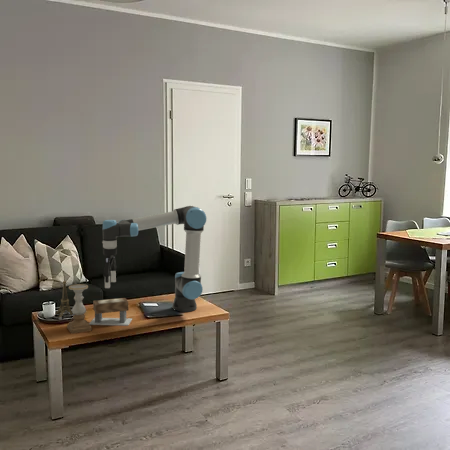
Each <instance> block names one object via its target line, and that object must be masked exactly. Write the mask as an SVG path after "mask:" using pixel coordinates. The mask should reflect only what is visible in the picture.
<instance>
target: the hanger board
mask: <svg viewBox="0 0 450 450" xmlns="http://www.w3.org/2000/svg"><path fill="white" fill-rule="evenodd" d="M132 320H133V318H130V317H129V318H127V311H119V317H103V313H99V314H96V313H95V312H94V318H93V319H92V320H91V321H90V322H88V323H89V324H90V326H127V327H128V326H129V325H130V324H131V323H132Z"/></svg>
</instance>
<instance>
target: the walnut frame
mask: <svg viewBox="0 0 450 450" xmlns="http://www.w3.org/2000/svg"><path fill="white" fill-rule="evenodd" d="M92 302H93V305H92V306H93V311H94V314H95V313H96V314H99V313H102V314H107V313H116V312H118V313H120V311H126V312H127V311H129V300H128V299H127V298H126V297H120V298H110V299H108V298H107V299H100V300H93V301H92Z"/></svg>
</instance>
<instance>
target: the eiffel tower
mask: <svg viewBox="0 0 450 450" xmlns="http://www.w3.org/2000/svg"><path fill="white" fill-rule="evenodd" d="M61 283H62V296H61V299H60V305H59V307H58V309H57V311H56V312H55V314H60V315H59V316H58V317H62V316H64V313H65V312H67V313H68V312H70V314H69V315H70V316H71V315H72V314H73V313H72V307H71V306H70V303H69V302H70V299H69V298H68V297H69V295H68V291H67V285H66V284H68V283H67V281H66V278H65V276H64V277H63V281H62V282H61Z"/></svg>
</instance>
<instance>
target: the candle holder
mask: <svg viewBox="0 0 450 450" xmlns="http://www.w3.org/2000/svg"><path fill="white" fill-rule="evenodd" d="M88 288H89V285H88V284H84V283H78V284H77V283H76V284H71V285H69V286H68V290H70V291H73V293H74V294H75V295H74V297H73V300H74V302H75V303H74V304H73V307H71V310H72V313H73V314H75V315H74V316H73V318H72V319H73V320H72V321H68V324H67V325H66V328H67V330H68V331H69V332H70V334H72V335H73V334H80V333H85V332H92V330H93V329H92V325H90V324H89V323H90V322H89V321H88V320H86V315H85V313H86V312H87V309H86V306H85V305H84V303H83V300H84V298H85V297H84V296H83V292H84V291H85V290H87V289H88Z"/></svg>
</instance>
